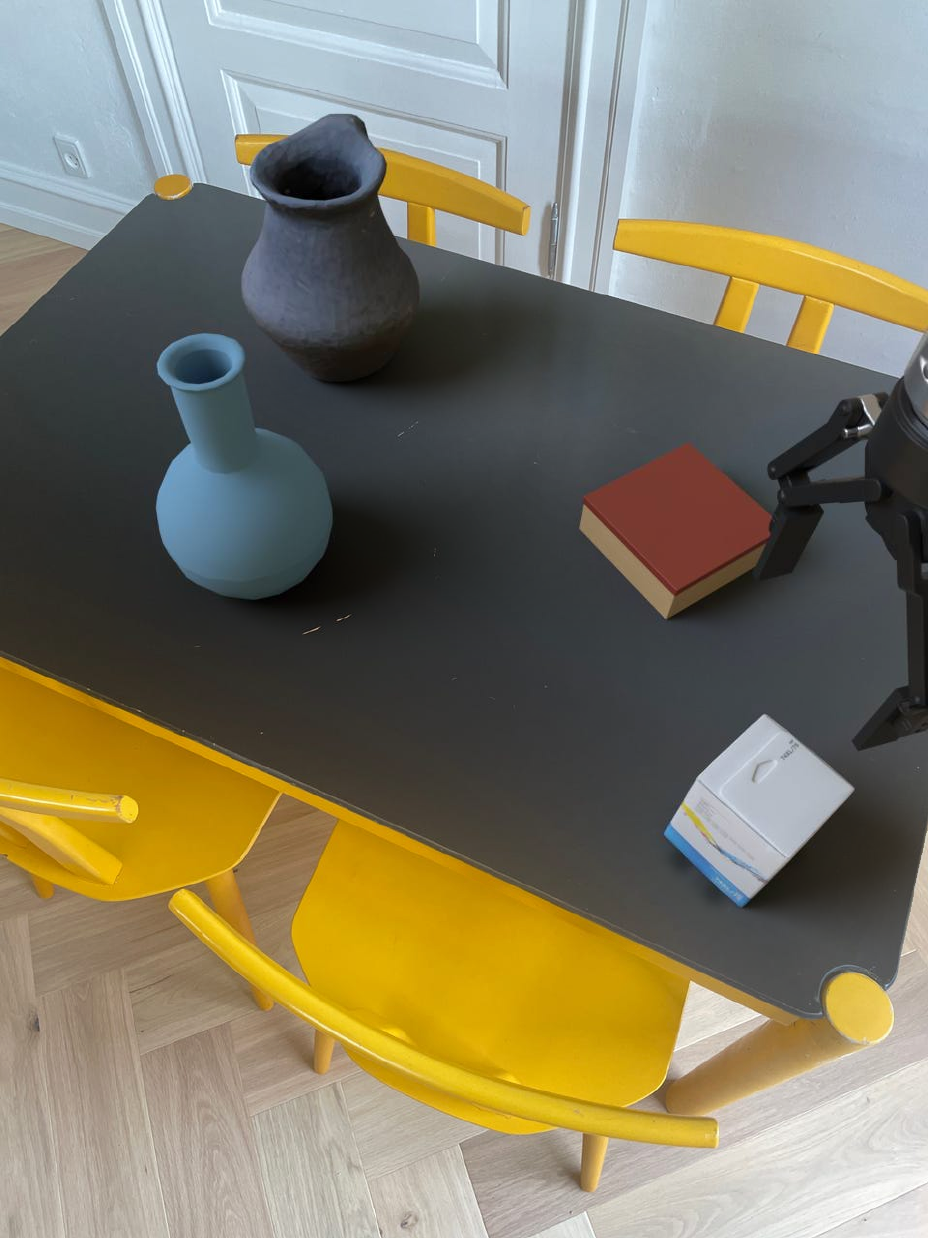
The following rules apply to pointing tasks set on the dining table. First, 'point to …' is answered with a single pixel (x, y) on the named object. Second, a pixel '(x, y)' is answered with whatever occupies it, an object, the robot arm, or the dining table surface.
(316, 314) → the pitcher
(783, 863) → the ink box
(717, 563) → the book
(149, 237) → the dining table surface
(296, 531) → the vase
